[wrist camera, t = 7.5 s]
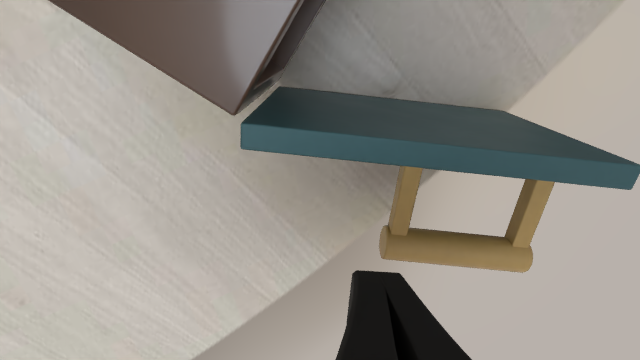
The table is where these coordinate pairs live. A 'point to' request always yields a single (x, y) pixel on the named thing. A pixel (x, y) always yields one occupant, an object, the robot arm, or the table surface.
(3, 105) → the table surface
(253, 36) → the cabinet
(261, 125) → the cabinet door
